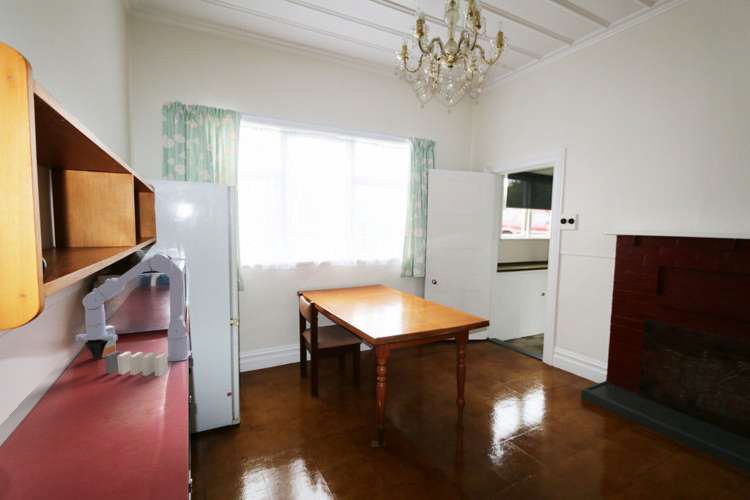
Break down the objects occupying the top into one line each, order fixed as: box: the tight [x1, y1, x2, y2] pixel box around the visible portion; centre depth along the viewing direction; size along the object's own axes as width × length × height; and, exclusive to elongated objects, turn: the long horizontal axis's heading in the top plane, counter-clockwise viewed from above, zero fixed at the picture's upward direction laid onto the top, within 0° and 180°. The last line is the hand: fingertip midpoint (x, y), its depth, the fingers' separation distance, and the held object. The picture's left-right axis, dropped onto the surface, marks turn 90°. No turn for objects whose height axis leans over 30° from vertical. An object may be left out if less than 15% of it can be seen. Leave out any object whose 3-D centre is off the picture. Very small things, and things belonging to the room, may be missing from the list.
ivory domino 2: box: [129, 351, 144, 376], centre depth 126 cm, size 2×4×7 cm, turn 175°
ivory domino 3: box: [142, 352, 156, 377], centre depth 126 cm, size 2×4×7 cm, turn 175°
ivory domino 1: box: [117, 351, 133, 376], centre depth 127 cm, size 2×4×7 cm, turn 175°
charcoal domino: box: [104, 350, 121, 375], centre depth 127 cm, size 2×4×7 cm, turn 174°
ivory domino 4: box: [154, 352, 169, 377], centre depth 126 cm, size 2×4×7 cm, turn 176°
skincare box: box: [101, 324, 117, 359], centre depth 142 cm, size 6×4×12 cm
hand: (98, 358), depth 128 cm, fingers closed
